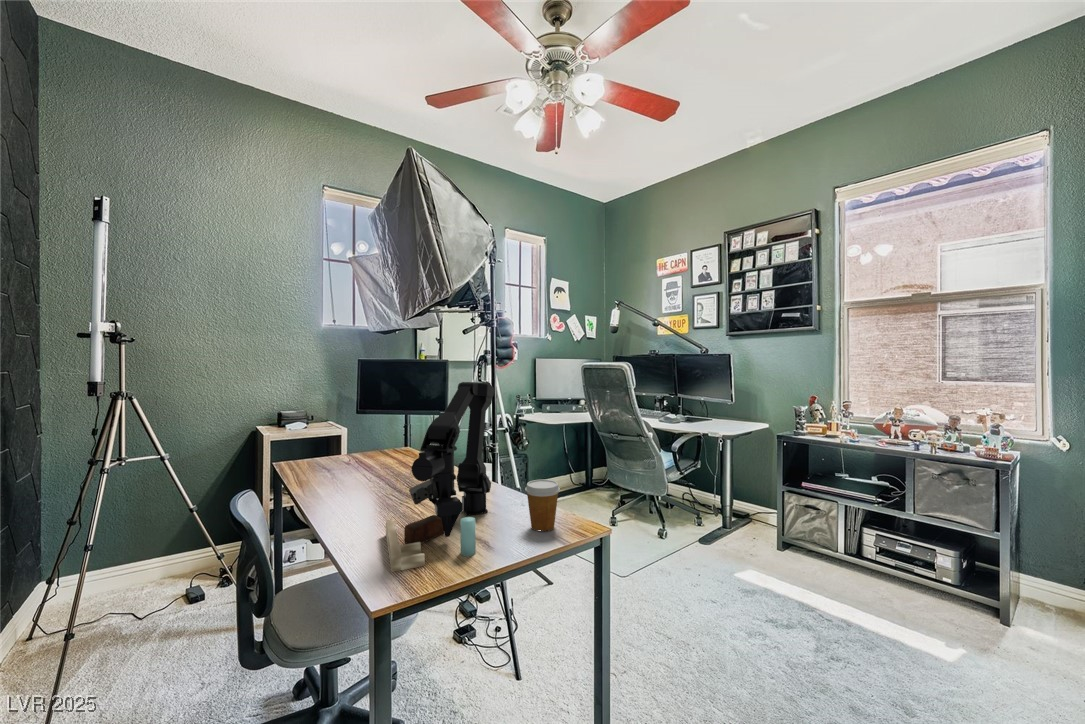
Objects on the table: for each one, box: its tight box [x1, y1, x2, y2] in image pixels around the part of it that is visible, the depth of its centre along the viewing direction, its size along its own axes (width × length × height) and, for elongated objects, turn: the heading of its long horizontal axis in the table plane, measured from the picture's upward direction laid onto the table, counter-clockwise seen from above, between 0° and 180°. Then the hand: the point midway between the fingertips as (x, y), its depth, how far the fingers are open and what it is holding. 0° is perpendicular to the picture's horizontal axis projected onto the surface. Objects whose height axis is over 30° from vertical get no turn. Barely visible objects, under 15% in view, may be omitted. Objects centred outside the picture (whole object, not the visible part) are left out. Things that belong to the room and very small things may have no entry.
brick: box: [403, 514, 444, 544], centre depth 113 cm, size 11×4×5 cm, turn 147°
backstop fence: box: [385, 518, 426, 573], centre depth 107 cm, size 7×22×4 cm, turn 23°
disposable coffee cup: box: [524, 479, 561, 532], centre depth 120 cm, size 10×10×12 cm
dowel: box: [460, 516, 477, 557], centre depth 104 cm, size 4×4×8 cm
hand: (443, 530), depth 115 cm, fingers open, 9 cm apart
